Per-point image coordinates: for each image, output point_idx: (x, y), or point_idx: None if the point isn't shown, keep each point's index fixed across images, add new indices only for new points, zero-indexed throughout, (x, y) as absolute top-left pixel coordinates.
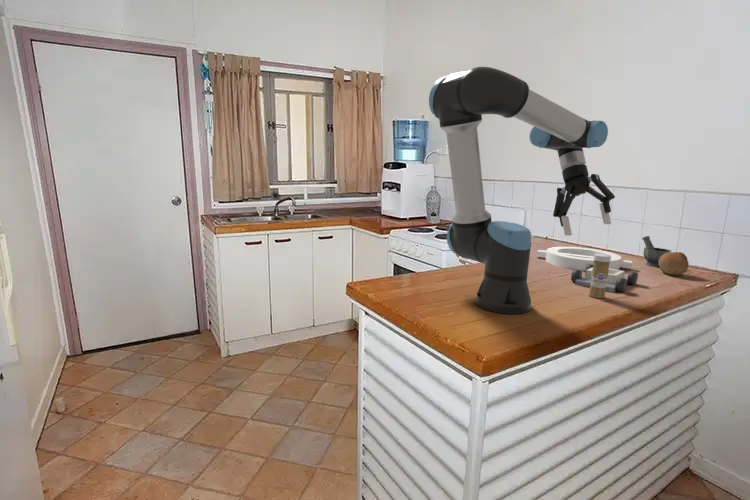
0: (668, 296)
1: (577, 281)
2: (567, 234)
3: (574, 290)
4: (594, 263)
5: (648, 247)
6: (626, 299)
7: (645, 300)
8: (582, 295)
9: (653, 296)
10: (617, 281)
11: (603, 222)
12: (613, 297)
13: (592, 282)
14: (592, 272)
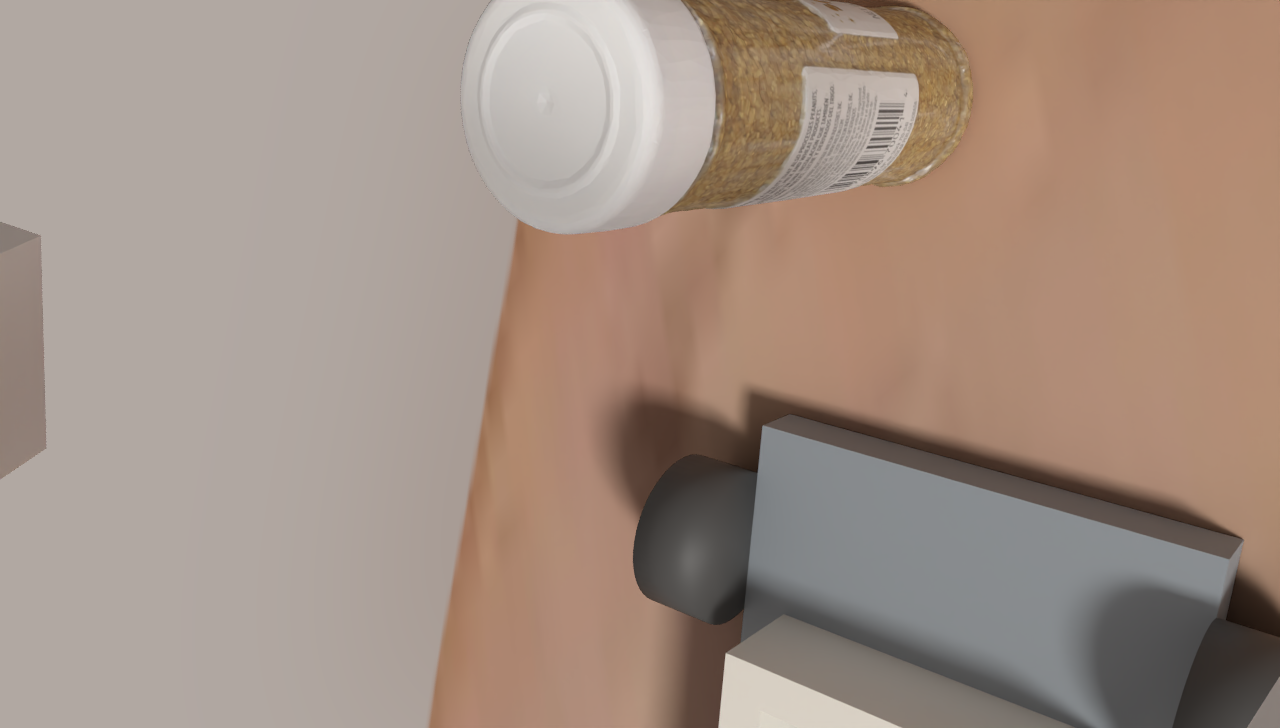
0: (458, 582)
1: (1199, 545)
2: (1276, 694)
3: (1180, 187)
4: (718, 20)
5: None
6: (658, 228)
7: (548, 319)
8: (1039, 12)
9: (526, 508)
10: (707, 496)
11: (8, 254)
12: (756, 210)
13: (859, 13)
14: (813, 43)
